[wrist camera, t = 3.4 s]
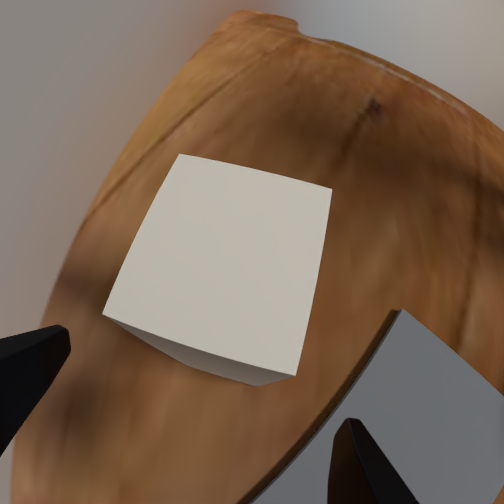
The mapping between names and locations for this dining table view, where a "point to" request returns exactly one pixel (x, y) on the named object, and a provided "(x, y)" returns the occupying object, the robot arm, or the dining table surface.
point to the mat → (411, 424)
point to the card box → (225, 270)
